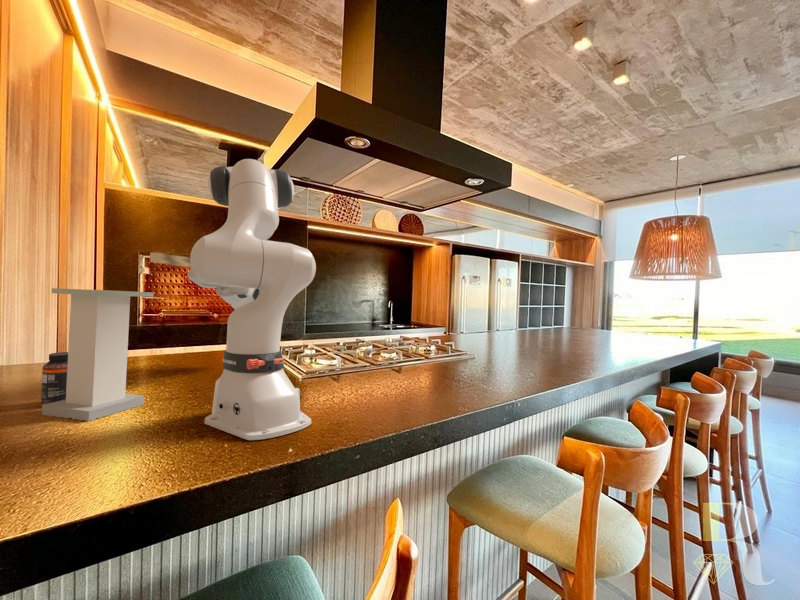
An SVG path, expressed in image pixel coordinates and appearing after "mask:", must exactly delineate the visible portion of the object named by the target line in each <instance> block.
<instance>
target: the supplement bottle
mask: <svg viewBox="0 0 800 600" xmlns="http://www.w3.org/2000/svg"><path fill="white" fill-rule="evenodd" d="M67 367H68V351H65V352H63V351H62V352H60V351H59V352H53V353H49V354H48V362H46V363H45V364H44V365H43V366H42V369H41V370H42V374H41V396H40V398H41V399H40V401H41V402H40V403H41V406H42V405H44V404H48V403H53V402H57V401H61V400H65V399H66V387H67Z"/></svg>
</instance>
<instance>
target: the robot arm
mask: <svg viewBox="0 0 800 600" xmlns="http://www.w3.org/2000/svg"><path fill="white" fill-rule="evenodd" d="M207 181H208V184H207V185H208V190H209V193H210V195H211V197H212V198H213V201H214V202H216V203H217V204H218V205H220V206H226V207H228V209H227V219H226V221H225V223H224V224H223V225H222V226H221V227H220V228H218V229H217V230H215V231H213V232H212V233H209V234H207V235H203V236H202V237H201V238H200V239H198V240H197V241H196V242H195V243H194V245H193V247H192V249H191V251H190V256H189V258H190V262H191V267H190V269H189V271H188V272H187V278H188V279H189V280H190V281H192V282H193V283H194V284H196V285H197V286H199V287H201V288H204V289H215V292H216V294H217V295H218V296H219V297H220V299H222V300H224V302H226V303H227V304H229V305H230V306H231V307H232V308H233V309H234V310H233V311H232V312H231V313H230V314H229V316H228V318H227V325H226V326H227V327H226V329H227V330H226V348H225V351H224V352H223V357H222V368H223V372H222V373H221V375H220V376H219V377H218V379H217V380H216V381H215V384H214V392H213V398H212V400H213V401H212V408H211V414H208V415H207V416H205V418H204V423H203V424H205V425H207V426H208V427H209V426H210V427H211V428H214V429H218V430H219V431H223V432H226V433H227V434H231V435H233V436H236V437H238V438H241V439H244V440H247V441H259V440H267V439H272V438H276V437H281V436H285V435H288V434H291V433H294V432H298V431H302V430H303V429H305V428H307V427H309V426H310V425H311V424H312V418H311V417H309V416H308V415H307V414H306V413H304V412H303V411H301V398H300V397H301V390H300V388H299V387H295V386H294V385H293V383H292V382H291V380H290V379H289V377H288V375H287V374H286V372H285V370H284V367H285V364H286V362H285V361H284V360H286V357H284V356H283V353H282V350H281V338H282V328H283V323H284V317H285V314H286V311H287V309H288V307H289V306H290V304H291V302H292V300H293V299H294V298H295V297H296V295H298V294H299V293H300V292H302V291H303V290H304V289H306V288H307V287H308V286H309V285H310V284H312V282H313V280H314V278H315V277H316V271H317V263H316V260H315V257H314V255H313V253H312V252H311V251H310V250H309V248H306V247H302V246H299V245H296V244H293V243H290V242H285V241H284V242H282V241H274V240H270V238H271V237H272V236H273V234H274V233H275V231H276V230H277V229H278V226H279V224H280V223H279V222H280V216H279V208H285V207H288V206H290V205H291V203H292V202H293V199H294V195H295V184H294V182H293V180H292V178H291V175H290V174H289V173H288V172H287V171H285V170H282V169H278V168H276V169H273V168H268V167H267V166H266V165H265V164H264V163H263V162H261V161H259V160H257V159H255V158H254V159H253V158H244V159H241V160H239V161H237V162H236V163H235V164H234V165H233V166H226V165H221V166H220V165H219V166H216V167H214V168H213V169H212V170H211V171H210V174H209V177H208V180H207Z"/></svg>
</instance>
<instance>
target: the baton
mask: <svg viewBox="0 0 800 600" xmlns="http://www.w3.org/2000/svg"><path fill="white" fill-rule="evenodd" d="M149 263H154V264H164V265H170V266H177V267H178V266H180V267H186V268H192V267H191V262H190V256H189V257H188V256H183V255H176V254H169V253H165V252H164V253H162V252H150V253H149Z"/></svg>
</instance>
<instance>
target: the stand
mask: <svg viewBox="0 0 800 600" xmlns="http://www.w3.org/2000/svg"><path fill="white" fill-rule="evenodd" d="M154 293H155V292H146V291H133V290H132V291H129V290H110V289H109V290H106V289H105V290H104V289H81V288H79V289H78V288H77V289H76V288H57V287H56V288H51V294H61V295H70V311H69V331H68V348H67V349H68V351H67V352H68V367H67V387H66V399H65V400H61V401H57V402H53V403H48V404H44V405H42V404H41V415H42V416H48V417H54V416H55V418H61V417H63V419H68V418H72V419H71V420H75V419H78V420H77V421H81V420H86V421H85V422H88V421H89V422H91V421H90V420H92V421H94V419H95V420H97V419H96V418H99V419H101V418H100V417H102V418H104V417H103V416H105V417H107V415H108V416H111V415H110V414H112V415H115V414H119V413H121V412H124V410H125V411H127V409H128V410H131V409H134V408H138V407H141V406H144V405H145V395H143V394H142V395H141V394H140V395H139V394H132V393H126V391H127V390H126V389H127V372H128V370H127V367H128V350H129V349H128V347H129V331H130V330H129V329H130V313H131V312H130V309H131V307H130V306H131V297H144V298H146V297H149V298H154V295H155V294H154ZM114 413H115V414H114Z"/></svg>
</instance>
